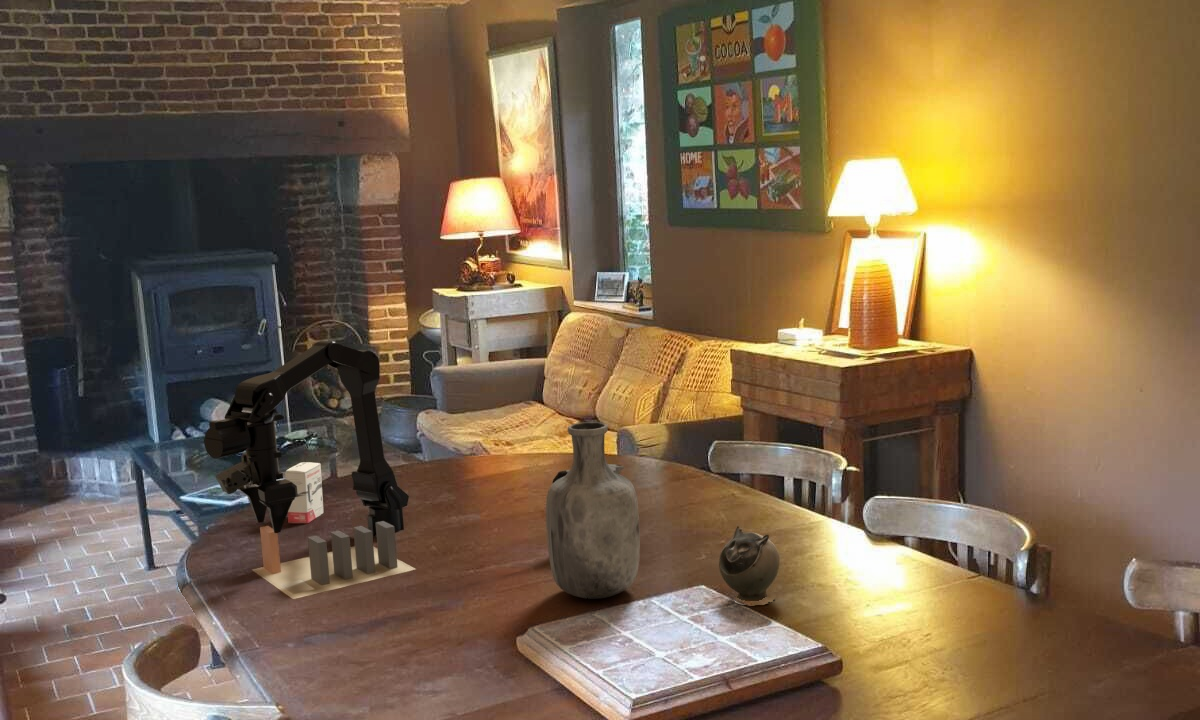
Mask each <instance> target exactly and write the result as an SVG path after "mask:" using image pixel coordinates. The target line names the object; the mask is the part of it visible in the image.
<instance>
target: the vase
mask: <svg viewBox="0 0 1200 720" xmlns="http://www.w3.org/2000/svg"><path fill="white" fill-rule="evenodd" d="M608 429H609V428H608V424H606V423H603V422H597V421H587V422H585V421H584V422H577V423H574V424H570V425H568V426H567V432H568V433H567V434H568V435H570V436H571V443H572V453H573V454H572V455H573V456H572V457H573V459H572V464H571V467H570V468H569V469H568V470H569V472H568V473H567V474H566V476H564V477H562V478H560V479H558V480H557V481H555V482H554V483H553V484H551V485H550V487H549V489H548V490H547V495H546V501H545V519H546V521H545V522H546V523H545V524H546V539H547V551H548V558H549V565H550V571H551V574H552V578H553V580H554V582H555V584H556V585H557V586H558V587H559V589H560V590H562V591H563V592H565V593H567V594H569V595H571V596H573V597H576V598H582V599H587V598H588V599H589V600H590V599H591V600H596V599H605V598H610V597H613V596H615V595H618V594H620V593H622V592H624V591H626V590H627V589H628V588H629V587H630V586H631V585H632V584H633V583H634V582H635V580H636V578H637V576H638V572H639V566H640V565H639V564H640V544H641V543H640V536H641V535H640V517H639V506H638V505H639V504H638V498H637V493H636V490H635V487H634V485H633V483H632V481H630V479H628V478H627V477H626V476H623V475H621V474H620V473H619V474H616V473H614V472H613V471H612V470H611V469H610V467H609V466H608V464H609V463H608V462H607V460H606V459H607V458H606V453H605V434H606V433H607V432H608Z"/></svg>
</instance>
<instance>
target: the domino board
mask: <svg viewBox="0 0 1200 720" xmlns="http://www.w3.org/2000/svg"><path fill="white" fill-rule="evenodd" d="M350 548H351V560H352V572H353V578H351V579H347V580H344V579H342V578H341V577H339V576H338V575H336V574H334V564H333V552H332V551H329V552H328V551H327V555H328V567H329V578H330V584H326V585H320V584H318V583H317V582H315V581H314V580H312V579H311V569H310V557H309V556H306V557H302V558H298V559H294V560H289V561H284V562H280V566H281V572H279V573H275V574H272V573H271V572H269V571H268V570H266V569H265V568H264V566H263V567H262V566H261V567H258V568H253V569H251V571H252V572H253V573H255V574H257V575H258V576H259V577H261V578H263V579H264V580H265V581H267V582H268V583H270V584H271V585H272V586H273V587H275V588H276V589H278V590H279V591H281V592H282V593H283V594H285V595H286V596H288V597H289V598H291V599H292V600H296V599H300V598H305V597H309V596H312V595H313V596H314V595H317V594H321V593H326V592H329V591H334V590H338V589H341V588H344V587H349V586H350V587H351V586H353V585H357V584H362V583H367V582H370V581H374V580H378V579H382V578H386V577H391V576H395V575H401V574H403V573H408V572H411V571H415V570H417V568H415V567H413V566H411V565H410V564H408V563H405V562H404V561H402V560H400V559H398V558H397V566H398V567H397V568H393V569H388V568H387V567H385V566H383V565H381V564H379V561H378V548H377V547H375V546H374V545H373V548H374V560H375V572H376V573H372V574H368V575H367V574H366V573H364V572H362V571H361V570H359V569H357V565H356V553H355V546H350Z"/></svg>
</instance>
